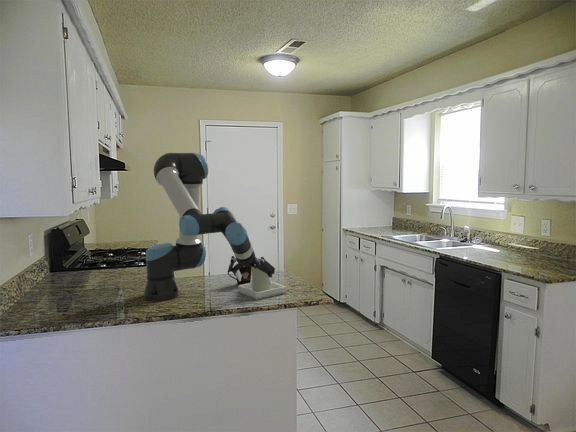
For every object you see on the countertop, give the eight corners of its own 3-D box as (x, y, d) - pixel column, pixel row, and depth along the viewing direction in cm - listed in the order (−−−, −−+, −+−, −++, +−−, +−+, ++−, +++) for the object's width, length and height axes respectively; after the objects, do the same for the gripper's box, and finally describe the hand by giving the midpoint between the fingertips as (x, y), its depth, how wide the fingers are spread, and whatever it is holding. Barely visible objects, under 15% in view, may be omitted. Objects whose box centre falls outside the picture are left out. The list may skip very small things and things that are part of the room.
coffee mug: (254, 282, 207) (253, 262, 205) (250, 287, 198) (250, 266, 197) (231, 281, 208) (231, 262, 207) (227, 286, 199) (226, 266, 198)
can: (260, 286, 195) (260, 262, 194) (275, 289, 190) (275, 264, 189) (247, 291, 188) (247, 266, 186) (263, 294, 182) (262, 268, 181)
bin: (256, 300, 178) (256, 293, 178) (238, 291, 191) (238, 285, 190) (286, 293, 187) (286, 286, 187) (267, 285, 200) (266, 279, 200)
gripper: (211, 259, 162) (226, 285, 178) (273, 261, 157) (281, 288, 173) (216, 243, 166) (229, 270, 182) (276, 245, 161) (284, 272, 177)
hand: (255, 279), depth 178 cm, fingers open, 13 cm apart
